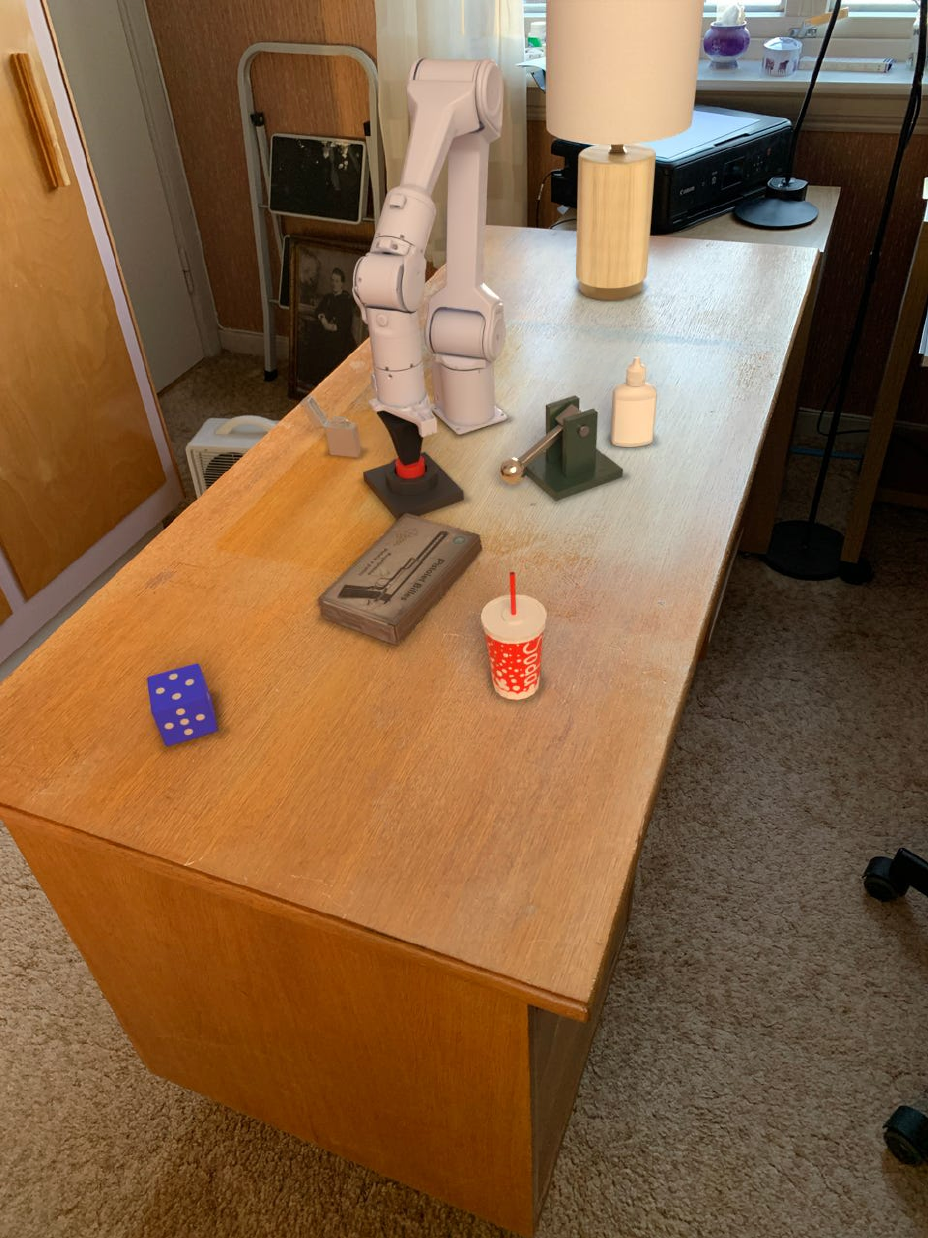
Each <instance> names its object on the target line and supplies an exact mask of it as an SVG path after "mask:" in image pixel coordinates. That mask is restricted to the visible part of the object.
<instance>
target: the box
mask: <svg viewBox="0 0 928 1238" xmlns="http://www.w3.org/2000/svg"><path fill="white" fill-rule="evenodd" d="M481 552H483V545H482V540H481V535H480V534H479V533H475V531H473V532H472V531H468V530H464V529H461V528H459V527H455V526H451V525H448V524H445V523H440V522H437V521H434V520H430V519H428V518H424V517H421V516H415V515H411V514H408V513H406V514H404V515H403V516H402V517H401V518H399V519H398V520H397V519H396V521H395V522H394V523H393V524H392V525H391V526H390V527H389V528H388V529H387V530H386V531H385V532H384V533H383V534H382V535H381V536H379V538H378V539H377V540H376V541H375V542H374V543H373V544H371V546H370V547H369V548H368V549H367V550H366V551H365V552H364V553H362V555H360V556H359V557H358V558H357V559H356V560H355V561H354V562H353V563H352V564H351V566H349V567H348V568H347V569H345V571H344V572H343V573H342V574H341V575H340V577H338V578H337V579H336V580H335V581H334V582H333V583H332V584H331V585H330V586H329V587H328V588H327V589H325V591H324V592H323V593H321V594H320V595H319V596H318V597H317V599H316V601H317V603H318V605H317V607H319V608H320V613H321V617H322V618H323V619H324V620H327V621H329V622H333V623H335V624H337V625H341V626H342V627H345V628H347V629H351V630H352V631H353V630H354V631H356V632H359V633H361V634H362V635H363V634H364V635H366V636H369V637H371V638H374V639H377V640H379V641H383V642H384V643H388V644H391V645H395V646H399V645H401V643H402V642H403V641H405V640H406V639H405V638H407V637H408V636H409V634H411V632H412V631H413V630H414V629H415V627H416V624H418V623H419V622H421V621H422V620H423V619H424V617H425V614H426V613H427V612H428V611H429V610H431V609H432V608H433V607H434V606H435V605H436V604H437V603H439V601H440V599H442V598H443V597H444V596H445V594H446V592H447V591H448V590H449V589H450V588H451V586H453V584H454V583H455V582H457V581H458V579H459V578H460V577H461V576H462V574H463V573H465V572H466V569H468V567H470V565H471V564H472V563H473V562H474V561H475V560H476V558H478V555H480V553H481Z"/></svg>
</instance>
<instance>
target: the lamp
mask: <svg viewBox="0 0 928 1238" xmlns="http://www.w3.org/2000/svg"><path fill="white" fill-rule="evenodd" d="M704 7H705V0H546V1H545V122H546V125H545V126H546V131H547V132H548V133H549V134H550V135H551V136H554V137H556V138H558V139H561V140H565V141H569V142H574V143H579V144H588V145H592V146H589V147H586V148H584V149H582V150H581V151H580V152H579V153H578V159H577V161H578V163H577V171H578V172H577V203H576V204H577V205H576V206H577V208H576V252H575V253H576V254H575V256H576V257H575V277H576V279H577V280H578V289H579V292H580V293H581V294H582V295H583V296H585V297H587V298H589V299H593V300H599V301H621V300H625V299H630V298H633V297H635V296H637V295H638V294H640V292H642V290H643V286H644V280H645V279H646V278H647V276H648V266H649V265H648V263H649V252H650V251H649V250H650V238H651V237H650V236H651V224H652V212H653V211H652V210H653V197H654V184H655V172H656V171H655V169H656V158H657V157H656V156H657V154H656V151H655V150H654V149H653V148H652V147H650V146H649V145H648V146H647V145H645V144H644V143H649V142H650V143H651V142H656V141H660V140H666V139H669V138H673V137H676V136H677V135H680V134H682V133H684V132H686V131H688V130H689V129H690V128H691V127H692V124H693V117H694V109H695V100H696V91H697V90H696V89H697V82H698V70H699V61H700V52H701V51H700V50H701V39H702V28H703V18H704ZM642 143H643V144H642Z"/></svg>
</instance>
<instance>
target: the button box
mask: <svg viewBox="0 0 928 1238" xmlns="http://www.w3.org/2000/svg"><path fill="white" fill-rule="evenodd" d="M420 456H422V457H423V458H424V464H425V473H424V474H423V475H422V476H419V477H416V478H402V477H399V476H397V471H396V460H397V459H398V458H395V459H393V460H391V462H389V463H386V464H384V465H380V466H378V467H373V468H371V469H368V470H365V471H363V472H362V475H363V481H364V482H365V483H366V485H367V486H368V487H369V488H370V489H371V490H372V492H373V493H374V494H375V495H376V497H377V498H378V499H379V500H380V501H381V503H382V504H383V505H384V506H385V507H386V508H387V510H388V511H389V513H391V515H392V516H393V517H394V518H395V519H396V521H397V520H398V519H399V518H401V517H402V516H403V515H404V514H406V513H408V514H411V515H415V516H418V517H421V516H422V515H425V514H428V513H431V512H433V511H436V510H440V509H442V508H445V507H448V506H451V505H453V504H456V503H460V502H462V501H464V500H465V496H464V495H465V494H464V490H463V489H462V488H461V486H460V485H458V484H457V482H455V481H454V480H453V479H452V477H450V476H449V475H448V474H447V472H446V471H445V470H443V469H442V467H441V466H440V465H438V463H436V462H435V460H434V459H433V458H432V457H431V456H430V455H429V454H428V453H427V452H426V451H423V452H421V453H420Z"/></svg>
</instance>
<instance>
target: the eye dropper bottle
mask: <svg viewBox="0 0 928 1238" xmlns="http://www.w3.org/2000/svg"><path fill="white" fill-rule="evenodd" d="M625 373H626V377H625V382H623V383H620V384H618V385H617V386H615V387H614V388H613V389H612V397H611V411H610V412H611V415H610V430H609V431H610V432H609V437H610V441H611V444H612V445H613V446H615V447H621V448H636V447H637V448H638V447H643V446H647V445H650V444H652V443H653V441H654V436H655V426H656V425H655V423H656V411H657V401H658V400H657V399H658V393H657V389H656V387H655V385H654V384H652V383H650V382H647V381H646V379H647V378H646V376H647V367H646V366H645V365H644V364H642V362H641V357H640V356H634V357H633V361H632V364H629V365H628V366H627V367H626V372H625Z"/></svg>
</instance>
